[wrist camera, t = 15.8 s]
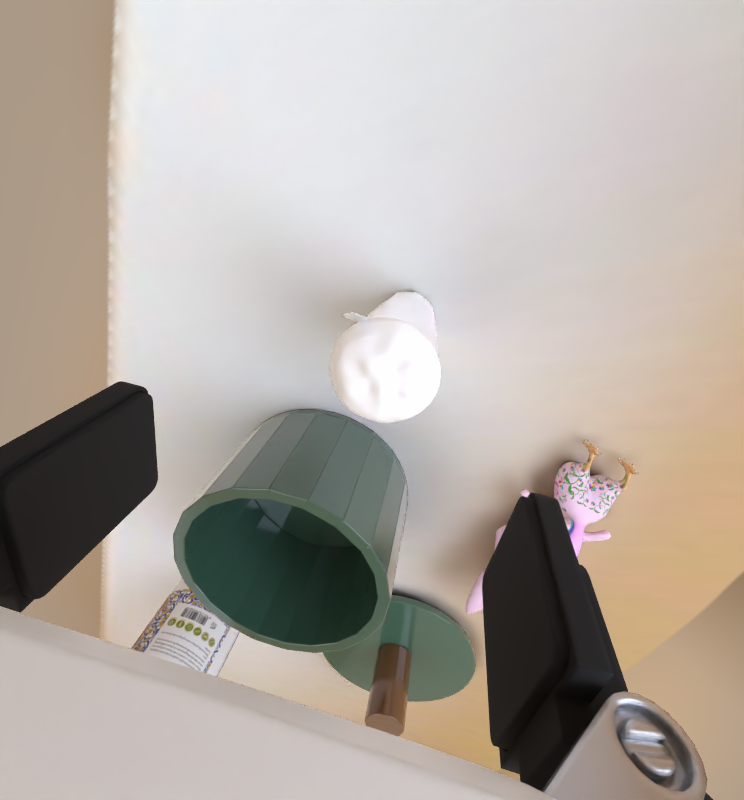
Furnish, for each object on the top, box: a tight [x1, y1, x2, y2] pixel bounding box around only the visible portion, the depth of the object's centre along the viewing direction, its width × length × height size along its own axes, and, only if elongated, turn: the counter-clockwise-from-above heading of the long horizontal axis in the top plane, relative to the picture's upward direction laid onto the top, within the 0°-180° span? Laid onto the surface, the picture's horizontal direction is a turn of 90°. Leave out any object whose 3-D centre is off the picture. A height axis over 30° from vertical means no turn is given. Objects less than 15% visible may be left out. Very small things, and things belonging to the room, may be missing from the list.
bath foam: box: [131, 578, 239, 677], centre depth 30 cm, size 7×7×20 cm
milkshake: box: [329, 291, 441, 423], centre depth 19 cm, size 5×5×10 cm
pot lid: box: [323, 595, 475, 736], centre depth 34 cm, size 14×14×7 cm
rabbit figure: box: [466, 440, 638, 614], centre depth 26 cm, size 6×6×15 cm
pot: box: [173, 409, 408, 653], centre depth 27 cm, size 13×13×8 cm
